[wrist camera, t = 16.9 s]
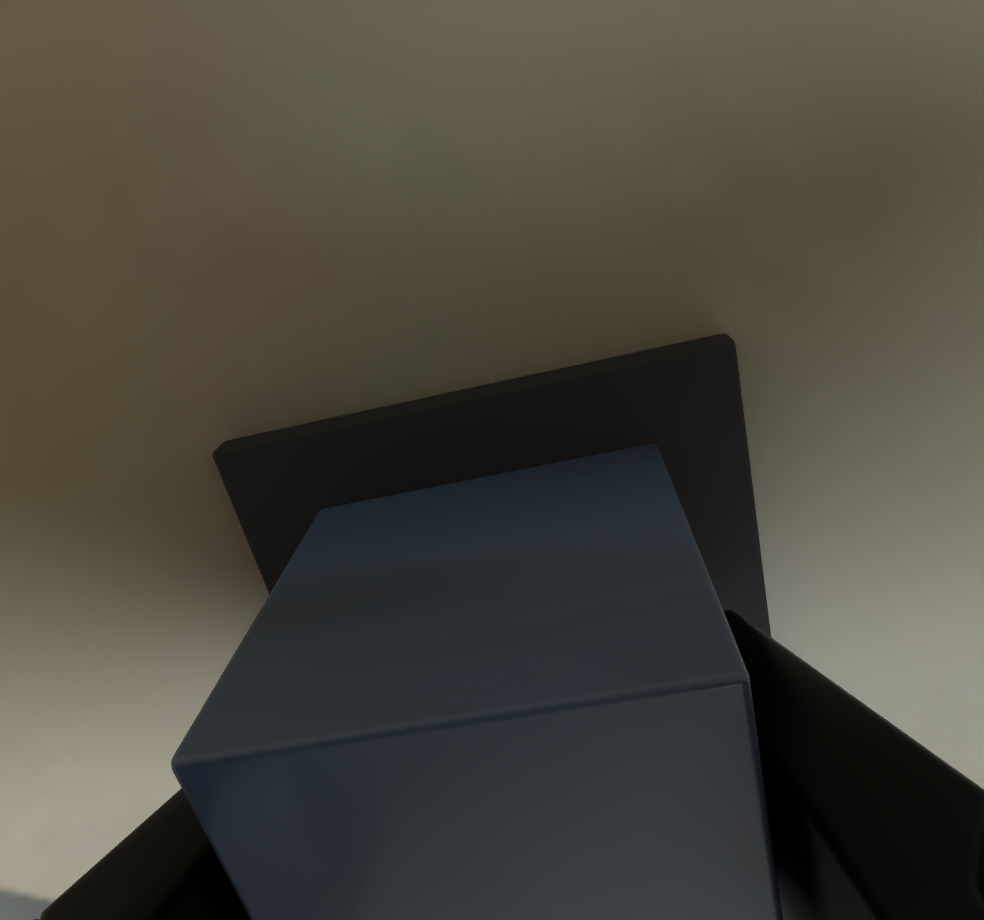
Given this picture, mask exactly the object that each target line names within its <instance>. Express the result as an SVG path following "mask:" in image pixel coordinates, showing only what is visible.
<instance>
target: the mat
mask: <svg viewBox="0 0 984 920" xmlns="http://www.w3.org/2000/svg"><path fill="white" fill-rule="evenodd" d="M647 444H656V445H657V446H658V448H659V450H660V453H661V455H662V458H663V460H664V463H665V465H666V468H667V470H668V473H669V475H670V478H671V480H672V483H673V485H674V488H675V490H676V493H677V496H678V498H679V501H680V503H681V506H682V508H683V511H684V513H685V516H686V518H687V521H688V523H689V526H690V528H691V531H692V533H693V536H694V538H695V541H696V543H697V546H698V548H699V551H700V553H701V556H702V558H703V561H704V563H705V566H706V568H707V571H708V573H709V576H710V579H711V581H712V584H713V586H714V589H715V591H716V594H717V596H718V599H719V601H720V604H721V606H722V609H723V610H732V611H734V612H736V613H737V614H739V615H740V616H741V617H743V618H744V619H746V620H747V621H748V622H750V623H751V624H753V625H754V626H755V627H757V628H758V629H760V630H761V631H762V632H764V633H765V634H767V635H768V636H770V637H771V634H770V625H769V617H768V609H767V601H766V592H765V584H764V576H763V568H762V559H761V551H760V543H759V535H758V527H757V518H756V510H755V502H754V494H753V485H752V477H751V469H750V461H749V452H748V444H747V436H746V428H745V420H744V411H743V403H742V395H741V387H740V378H739V370H738V362H737V354H736V346H735V343H734V341H733V340H732V339H731V338H730V337H729V336H728V335H727V334H720V335H715V336H711V337H706V338H701V339H697V340H692V341H687V342H683V343H678V344H673V345H669V346H664V347H660V348H655V349H650V350H646V351H641V352H636V353H632V354H627V355H622V356H618V357H613V358H609V359H604V360H599V361H595V362H590V363H585V364H581V365H576V366H571V367H567V368H562V369H558V370H553V371H548V372H544V373H539V374H534V375H530V376H525V377H521V378H516V379H511V380H507V381H502V382H497V383H493V384H488V385H483V386H479V387H474V388H470V389H465V390H460V391H456V392H451V393H446V394H442V395H437V396H432V397H428V398H423V399H419V400H414V401H409V402H405V403H400V404H395V405H391V406H386V407H381V408H377V409H372V410H368V411H363V412H358V413H354V414H349V415H344V416H340V417H335V418H331V419H326V420H321V421H317V422H312V423H307V424H303V425H298V426H293V427H289V428H284V429H280V430H275V431H270V432H266V433H261V434H256V435H252V436H247V437H242V438H238V439H233V440H229V441H225V442H223V443H222V444H221V445H220V446H219V447H218V448H217V449H216V450H215V451H214V452H213V458H214V460H215V463H216V465H217V468H218V470H219V473H220V475H221V477H222V480H223V482H224V485H225V487H226V490H227V492H228V495H229V497H230V499H231V502H232V504H233V507H234V509H235V512H236V514H237V516H238V519H239V521H240V524H241V526H242V529H243V531H244V534H245V536H246V538H247V541H248V543H249V546H250V548H251V551H252V553H253V556H254V558H255V560H256V563H257V565H258V568H259V570H260V573H261V575H262V577H263V580H264V582H265V585H266V587H267V590H268V592H269V595H270V593H271V591H272V589H273V588H274V586H275V584H276V583H277V581H278V579H279V578H280V576H281V574H282V573H283V571H284V569H285V568H286V566H287V564H288V563H289V561H290V559H291V558H292V556H293V554H294V552H295V551H296V549H297V547H298V546H299V544H300V542H301V541H302V539H303V537H304V536H305V534H306V532H307V531H308V529H309V527H310V526H311V524H312V522H313V521H314V519H315V517H316V515H317V514H318V512H319V511H320V510H321V509H324V508H329V507H334V506H339V505H344V504H349V503H354V502H359V501H364V500H369V499H374V498H379V497H384V496H390V495H395V494H400V493H405V492H410V491H415V490H420V489H425V488H430V487H435V486H440V485H445V484H450V483H455V482H460V481H465V480H470V479H475V478H480V477H485V476H490V475H495V474H500V473H506V472H511V471H516V470H521V469H526V468H531V467H536V466H541V465H546V464H551V463H556V462H561V461H566V460H571V459H576V458H581V457H586V456H591V455H596V454H601V453H606V452H611V451H616V450H622V449H627V448H632V447H637V446H642V445H647Z"/></svg>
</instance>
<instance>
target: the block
mask: <svg viewBox="0 0 984 920" xmlns="http://www.w3.org/2000/svg"><path fill="white" fill-rule="evenodd" d="M171 766H172V770H173V772H174V774H175V776H176V778H177V780H178V782H179V784H180V785H181V787H182V789H183V791H184V793H185V795H186V797H187V799H188V801H189V803H190V805H191V807H192V809H193V810H194V812H195V814H196V816H197V818H198V820H199V822H200V824H201V826H202V828H203V830H204V832H205V834H206V836H207V837H208V839H209V841H210V843H211V845H212V847H213V849H214V851H215V853H216V855H217V857H218V859H219V861H220V862H221V864H222V866H223V868H224V870H225V872H226V874H227V876H228V878H229V880H230V882H231V884H232V886H233V888H234V889H235V891H236V893H237V895H238V897H239V899H240V901H241V903H242V905H243V907H244V909H245V911H246V913H247V914H248V916H249V918H250V920H783V918H782V910H781V903H780V896H779V889H778V881H777V874H776V867H775V859H774V852H773V845H772V838H771V830H770V823H769V816H768V808H767V801H766V794H765V787H764V779H763V772H762V765H761V758H760V750H759V743H758V736H757V728H756V721H755V714H754V707H753V699H752V692H751V685H750V677H749V674H748V672H747V669H746V667H745V664H744V662H743V659H742V656H741V654H740V651H739V649H738V646H737V644H736V641H735V639H734V636H733V634H732V631H731V629H730V626H729V624H728V621H727V619H726V616H725V614H724V611H723V609H722V606H721V604H720V601H719V599H718V596H717V594H716V591H715V589H714V586H713V584H712V581H711V579H710V576H709V573H708V571H707V568H706V566H705V563H704V561H703V558H702V556H701V553H700V551H699V548H698V546H697V543H696V541H695V538H694V536H693V533H692V531H691V528H690V526H689V523H688V521H687V518H686V516H685V513H684V511H683V508H682V506H681V503H680V501H679V498H678V496H677V493H676V490H675V488H674V485H673V483H672V480H671V478H670V475H669V473H668V470H667V468H666V465H665V463H664V460H663V458H662V455H661V453H660V450H659V448H658V446H657V445H656V444H647V445H642V446H637V447H632V448H627V449H622V450H616V451H611V452H606V453H601V454H596V455H591V456H586V457H581V458H576V459H571V460H566V461H561V462H556V463H551V464H546V465H541V466H536V467H531V468H526V469H521V470H516V471H511V472H506V473H500V474H495V475H490V476H485V477H480V478H475V479H470V480H465V481H460V482H455V483H450V484H445V485H440V486H435V487H430V488H425V489H420V490H415V491H410V492H405V493H400V494H395V495H390V496H384V497H379V498H374V499H369V500H364V501H359V502H354V503H349V504H344V505H339V506H334V507H329V508H324V509H321V510H320V511H319V512H318V514H317V515H316V517H315V519H314V521H313V522H312V524H311V526H310V527H309V529H308V531H307V532H306V534H305V536H304V537H303V539H302V541H301V542H300V544H299V546H298V547H297V549H296V551H295V552H294V554H293V556H292V558H291V559H290V561H289V563H288V564H287V566H286V568H285V569H284V571H283V573H282V574H281V576H280V578H279V579H278V581H277V583H276V584H275V586H274V588H273V589H272V591H271V593H270V595H269V596H268V598H267V600H266V601H265V603H264V605H263V606H262V608H261V610H260V611H259V613H258V615H257V616H256V618H255V620H254V621H253V623H252V625H251V626H250V628H249V630H248V632H247V633H246V635H245V637H244V638H243V640H242V642H241V643H240V645H239V647H238V648H237V650H236V652H235V653H234V655H233V657H232V658H231V660H230V662H229V663H228V665H227V667H226V668H225V670H224V672H223V674H222V675H221V677H220V679H219V680H218V682H217V684H216V685H215V687H214V689H213V690H212V692H211V694H210V695H209V697H208V699H207V700H206V702H205V704H204V705H203V707H202V709H201V711H200V712H199V714H198V716H197V717H196V719H195V721H194V722H193V724H192V726H191V727H190V729H189V731H188V732H187V734H186V736H185V737H184V739H183V741H182V742H181V744H180V746H179V748H178V749H177V751H176V753H175V754H174V756H173V758H172V762H171Z"/></svg>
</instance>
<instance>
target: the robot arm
mask: <svg viewBox="0 0 984 920" xmlns="http://www.w3.org/2000/svg"><path fill="white" fill-rule="evenodd" d="M723 611H724V614H725V616H726V619H727V621H728V624H729V626H730V629H731V631H732V634H733V636H734V639H735V641H736V644H737V646H738V649H739V651H740V654H741V656H742V659H743V662H744V664H745V667H746V669H747V672H748V674H749V677H750V685H751V692H752V699H753V707H754V714H755V721H756V728H757V736H758V743H759V750H760V758H761V765H762V772H763V779H764V787H765V794H766V801H767V808H768V816H769V823H770V830H771V838H772V845H773V852H774V859H775V867H776V874H777V881H778V889H779V896H780V903H781V910H782V918H783V920H984V789H982V788H981V787H980V786H978V785H977V784H975V783H974V782H973V781H971V780H970V779H968V778H967V777H966V776H964V775H963V774H961V773H960V772H959V771H957V770H956V769H954V768H953V767H952V766H950V765H949V764H947V763H946V762H945V761H943V760H942V759H940V758H939V757H938V756H936V755H935V754H933V753H932V752H931V751H929V750H928V749H926V748H925V747H924V746H922V745H921V744H919V743H918V742H917V741H915V740H914V739H912V738H911V737H910V736H908V735H907V734H905V733H904V732H903V731H901V730H900V729H898V728H897V727H896V726H894V725H893V724H891V723H890V722H889V721H887V720H886V719H884V718H883V717H882V716H880V715H879V714H877V713H876V712H875V711H873V710H872V709H870V708H869V707H868V706H866V705H865V704H863V703H862V702H861V701H859V700H858V699H856V698H855V697H854V696H852V695H851V694H849V693H848V692H847V691H845V690H844V689H842V688H841V687H840V686H838V685H837V684H835V683H834V682H833V681H831V680H830V679H828V678H827V677H826V676H824V675H823V674H821V673H820V672H819V671H817V670H816V669H814V668H813V667H812V666H810V665H809V664H807V663H806V662H805V661H803V660H802V659H800V658H799V657H798V656H796V655H795V654H793V653H792V652H791V651H789V650H788V649H786V648H785V647H784V646H782V645H781V644H779V643H778V642H777V641H775V640H774V639H772V638H771V637H770V636H768V635H767V634H765V633H764V632H762V631H761V630H760V629H758V628H757V627H755V626H754V625H753V624H751V623H750V622H748V621H747V620H746V619H744V618H743V617H741V616H740V615H739V614H737V613H736V612H734V611H732V610H723ZM34 920H250V918H249V916H248V914H247V913H246V911H245V909H244V907H243V905H242V903H241V901H240V899H239V897H238V895H237V893H236V891H235V889H234V888H233V886H232V884H231V882H230V880H229V878H228V876H227V874H226V872H225V870H224V868H223V866H222V864H221V862H220V861H219V859H218V857H217V855H216V853H215V851H214V849H213V847H212V845H211V843H210V841H209V839H208V837H207V836H206V834H205V832H204V830H203V828H202V826H201V824H200V822H199V820H198V818H197V816H196V814H195V812H194V810H193V809H192V807H191V805H190V803H189V801H188V799H187V797H186V795H185V793H184V791H183V789H182V788H181V789H180V790H179V791H178V792H177V793H176V794H175V795H173V796H172V797H171V798H170V799H169V800H168V801H167V802H165V803H164V804H163V805H162V806H161V807H160V808H159V809H158V810H156V811H155V812H154V813H153V814H152V815H151V816H150V817H149V818H147V819H146V820H145V821H144V822H143V823H142V824H141V825H140V826H138V827H137V828H136V829H135V830H134V831H133V832H132V833H131V834H129V835H128V836H127V837H126V838H125V839H124V840H123V841H122V842H120V843H119V844H118V845H117V846H116V847H115V848H114V849H113V850H111V851H110V852H109V853H108V854H107V855H106V856H105V857H104V858H102V859H101V860H100V861H99V862H98V863H97V864H96V865H95V866H93V867H92V868H91V869H90V870H89V871H88V872H87V873H86V874H84V875H83V876H82V877H81V878H80V879H79V880H78V881H76V882H75V883H74V884H73V885H72V886H71V887H70V888H69V889H67V890H66V891H65V892H64V893H63V894H62V895H61V896H60V897H58V898H57V899H56V900H55V901H54V902H53V903H52V904H51V905H49V906H48V907H47V908H46V909H45V910H44V911H43V912H42V914H41V918H40V919H34Z"/></svg>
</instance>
